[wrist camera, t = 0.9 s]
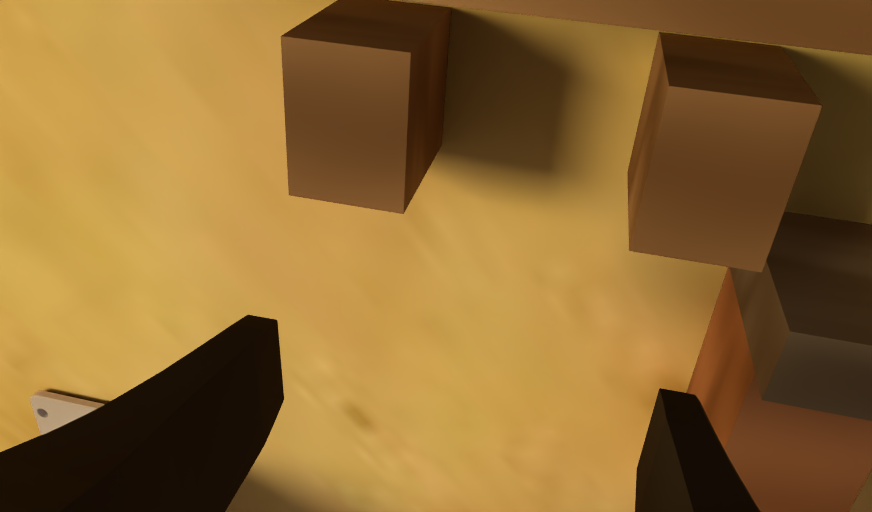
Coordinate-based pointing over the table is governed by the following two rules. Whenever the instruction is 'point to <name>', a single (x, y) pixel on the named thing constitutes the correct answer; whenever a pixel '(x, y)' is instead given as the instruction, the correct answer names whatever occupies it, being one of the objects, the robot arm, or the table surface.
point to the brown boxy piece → (795, 367)
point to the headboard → (657, 130)
